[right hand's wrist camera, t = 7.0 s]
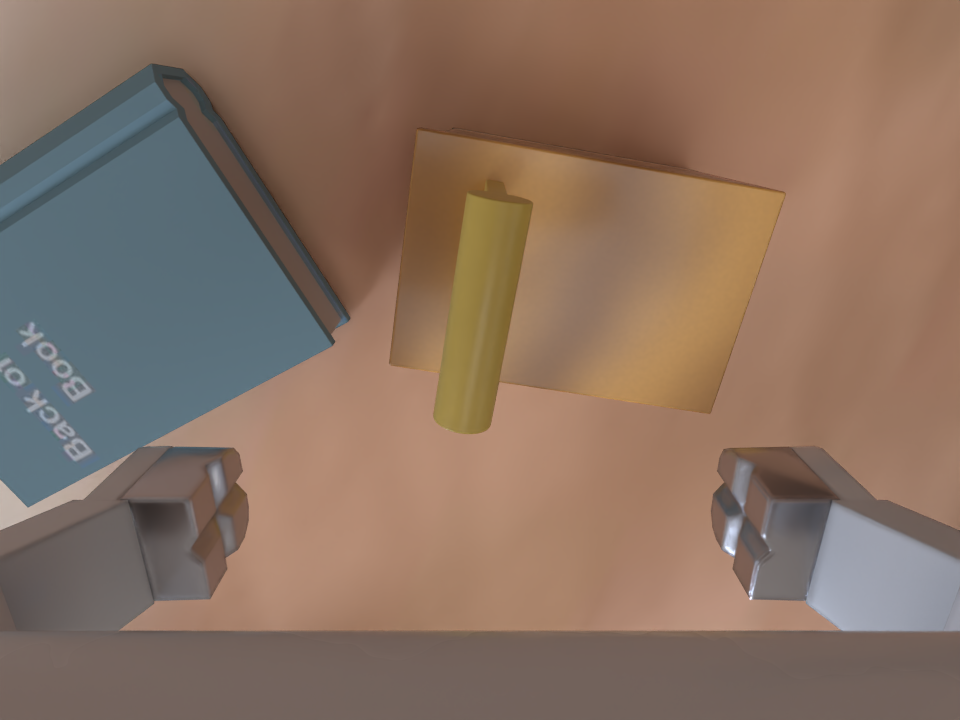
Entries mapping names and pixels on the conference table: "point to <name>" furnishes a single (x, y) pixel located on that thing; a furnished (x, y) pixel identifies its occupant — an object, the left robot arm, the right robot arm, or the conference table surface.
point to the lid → (571, 276)
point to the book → (140, 282)
